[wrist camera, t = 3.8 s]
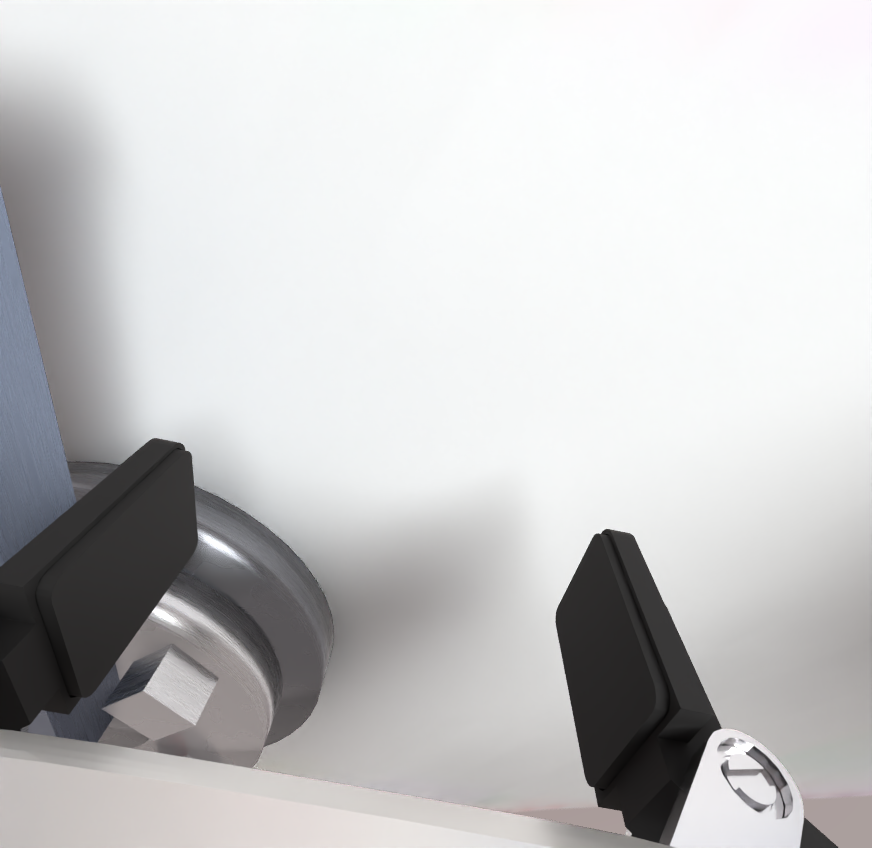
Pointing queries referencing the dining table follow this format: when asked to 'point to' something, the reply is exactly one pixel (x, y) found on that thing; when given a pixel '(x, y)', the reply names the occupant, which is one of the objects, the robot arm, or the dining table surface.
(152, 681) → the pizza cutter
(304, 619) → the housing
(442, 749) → the dining table surface
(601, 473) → the dining table surface
